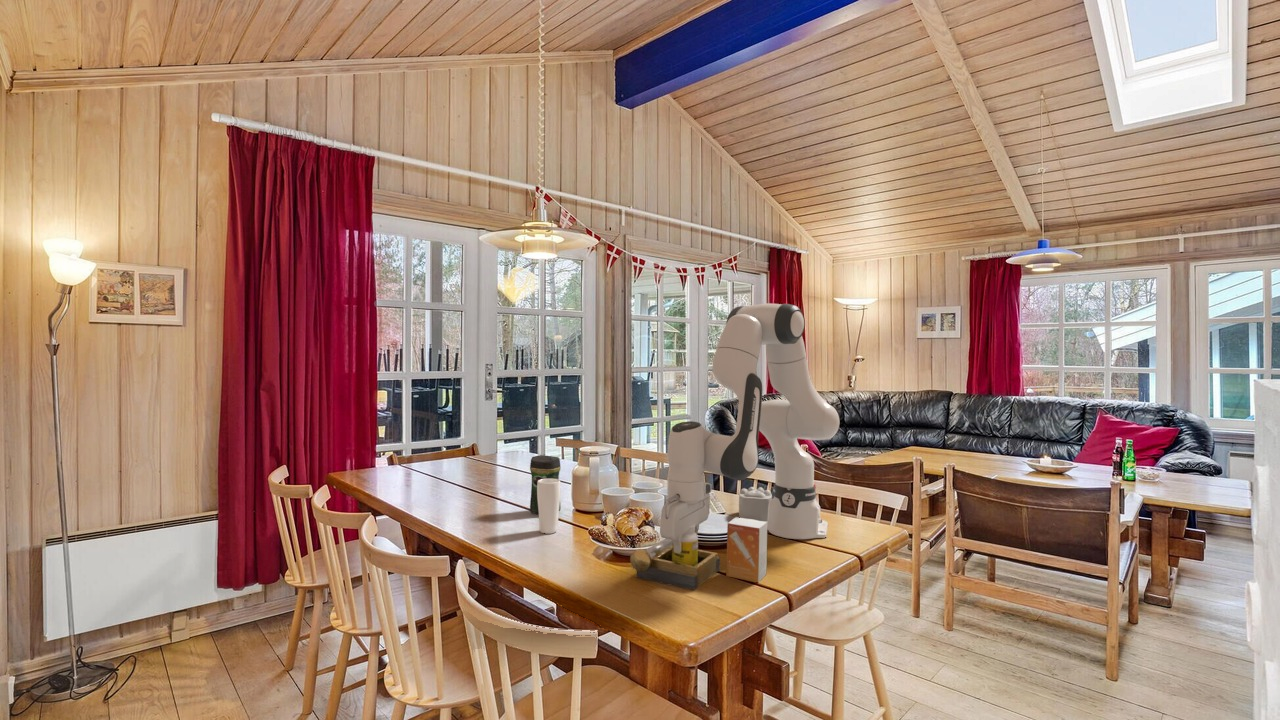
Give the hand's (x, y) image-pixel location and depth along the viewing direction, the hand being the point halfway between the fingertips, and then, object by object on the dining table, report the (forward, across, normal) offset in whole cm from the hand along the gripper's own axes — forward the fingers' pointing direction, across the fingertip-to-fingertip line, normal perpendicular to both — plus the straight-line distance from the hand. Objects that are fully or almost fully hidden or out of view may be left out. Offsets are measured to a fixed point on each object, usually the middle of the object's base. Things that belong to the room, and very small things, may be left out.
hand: (685, 547), depth 149 cm
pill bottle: (+6, 0, 0) cm, 6 cm away
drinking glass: (+7, +10, +49) cm, 50 cm away
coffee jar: (+7, +26, +63) cm, 68 cm away
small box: (+7, +7, -13) cm, 16 cm away
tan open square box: (+6, -1, +2) cm, 7 cm away
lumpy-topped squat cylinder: (+7, +59, +3) cm, 59 cm away
